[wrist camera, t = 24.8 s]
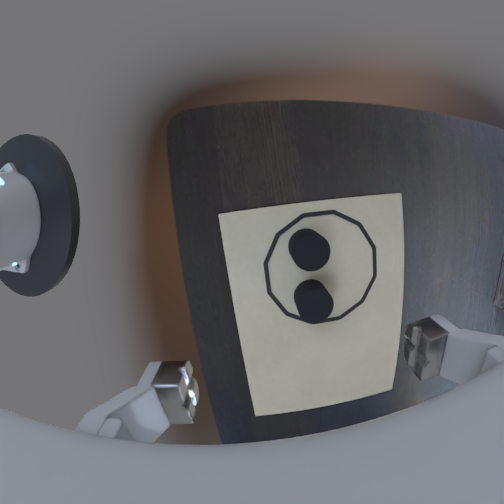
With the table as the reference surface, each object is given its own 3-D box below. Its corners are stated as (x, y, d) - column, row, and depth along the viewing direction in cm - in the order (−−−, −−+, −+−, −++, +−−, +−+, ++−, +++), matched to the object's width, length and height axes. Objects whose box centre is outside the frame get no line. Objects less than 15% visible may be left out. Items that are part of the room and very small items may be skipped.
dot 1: (290, 265, 32) (294, 274, 28) (286, 230, 31) (290, 235, 28) (324, 260, 32) (332, 268, 28) (320, 226, 31) (328, 230, 28)
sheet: (255, 413, 38) (255, 416, 37) (218, 213, 31) (218, 214, 31) (390, 387, 37) (392, 389, 36) (399, 192, 30) (401, 193, 30)
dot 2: (295, 312, 33) (299, 325, 30) (292, 281, 32) (296, 292, 29) (327, 307, 33) (334, 319, 30) (325, 276, 32) (333, 286, 29)
